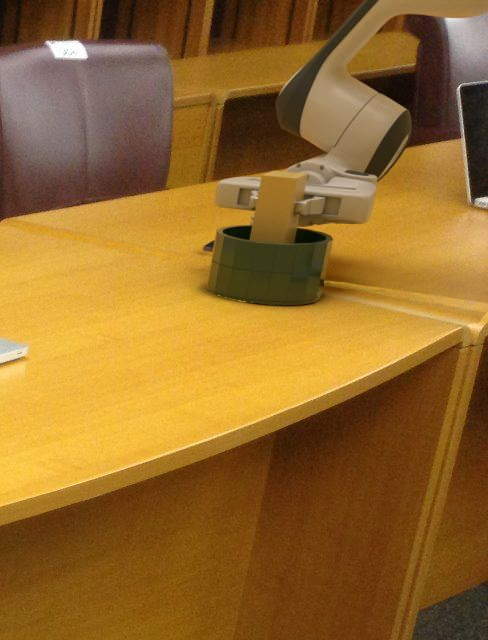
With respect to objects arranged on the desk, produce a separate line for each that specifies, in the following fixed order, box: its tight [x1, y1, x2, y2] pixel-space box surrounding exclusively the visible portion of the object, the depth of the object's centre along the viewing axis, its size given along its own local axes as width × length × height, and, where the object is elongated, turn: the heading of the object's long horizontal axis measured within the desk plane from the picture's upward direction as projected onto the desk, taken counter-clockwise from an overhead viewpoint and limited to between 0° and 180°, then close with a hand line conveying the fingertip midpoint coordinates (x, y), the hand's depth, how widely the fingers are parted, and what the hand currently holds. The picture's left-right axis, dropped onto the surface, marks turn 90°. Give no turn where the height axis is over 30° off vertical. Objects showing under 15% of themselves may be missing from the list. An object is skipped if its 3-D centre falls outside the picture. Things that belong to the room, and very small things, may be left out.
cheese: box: [250, 170, 308, 243], centre depth 206 cm, size 4×5×10 cm
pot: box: [206, 224, 334, 306], centre depth 209 cm, size 15×15×8 cm
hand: (277, 206), depth 205 cm, fingers closed on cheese, 4 cm apart
